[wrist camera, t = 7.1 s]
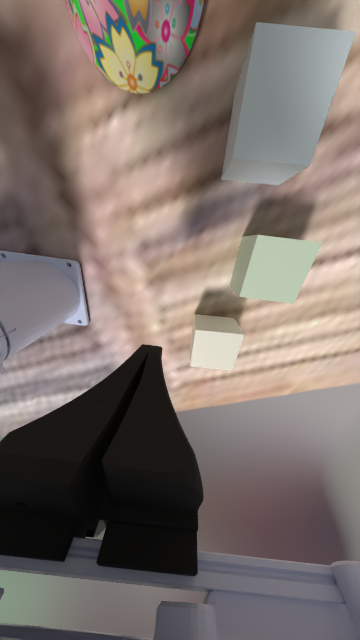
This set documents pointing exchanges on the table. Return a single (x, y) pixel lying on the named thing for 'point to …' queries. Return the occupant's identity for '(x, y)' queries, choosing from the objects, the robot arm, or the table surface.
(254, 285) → the block sage
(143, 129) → the table surface
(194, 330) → the block cream
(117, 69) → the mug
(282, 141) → the block bluegrey
